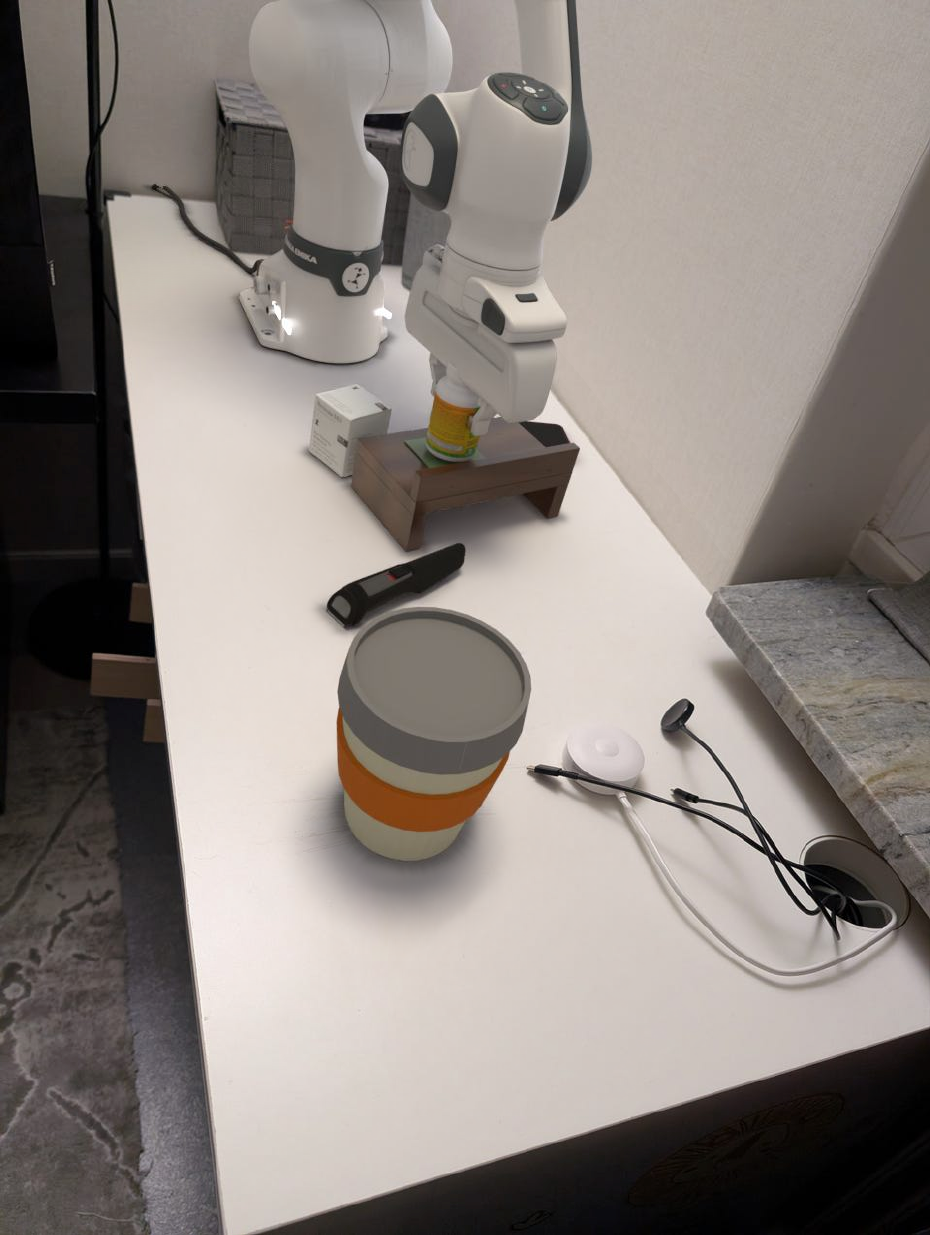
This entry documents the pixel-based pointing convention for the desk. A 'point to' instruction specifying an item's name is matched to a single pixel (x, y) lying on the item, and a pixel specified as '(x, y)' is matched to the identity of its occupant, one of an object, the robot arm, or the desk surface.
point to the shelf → (457, 476)
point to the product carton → (345, 425)
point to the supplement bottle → (452, 419)
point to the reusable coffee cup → (425, 726)
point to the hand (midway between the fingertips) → (458, 415)
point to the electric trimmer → (394, 584)
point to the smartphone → (546, 433)
